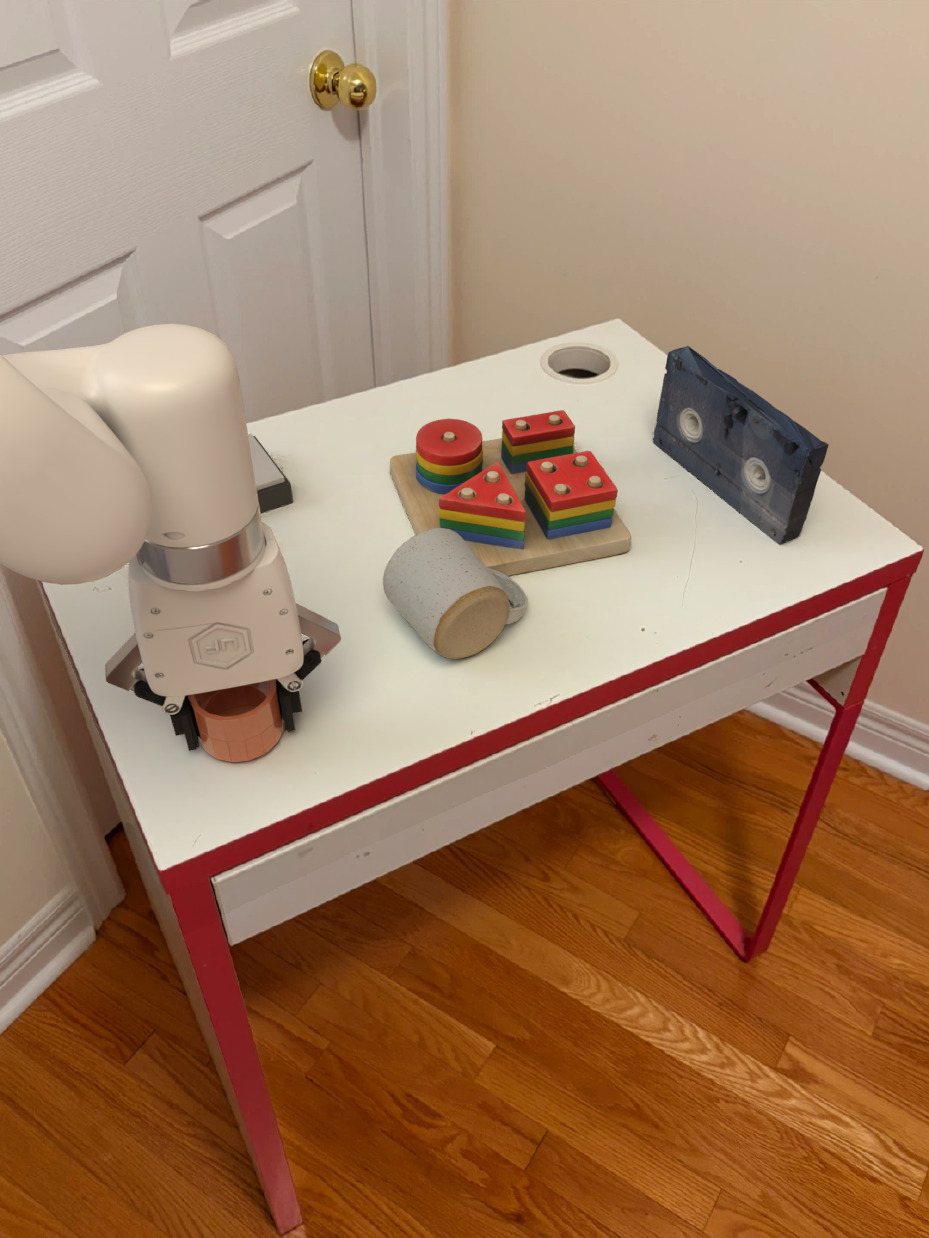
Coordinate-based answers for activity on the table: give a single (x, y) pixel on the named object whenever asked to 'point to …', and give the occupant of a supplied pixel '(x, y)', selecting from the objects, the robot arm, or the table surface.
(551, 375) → the table surface
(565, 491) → the shape sorter
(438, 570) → the ceramic mug
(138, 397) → the robot arm
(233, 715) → the terracotta pot
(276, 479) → the scale
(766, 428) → the vhs cassette tape
